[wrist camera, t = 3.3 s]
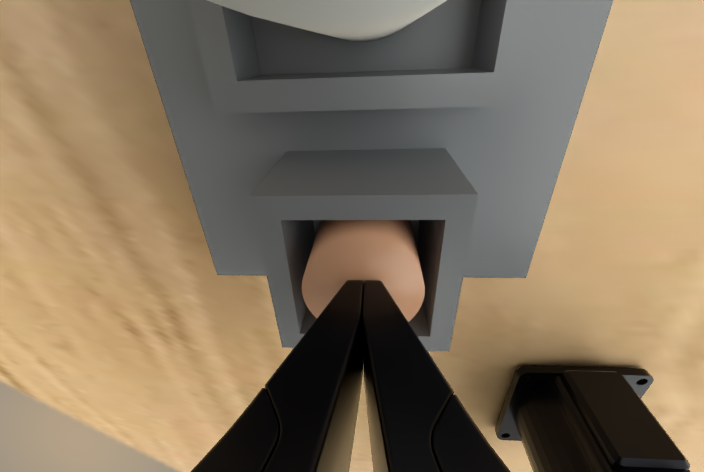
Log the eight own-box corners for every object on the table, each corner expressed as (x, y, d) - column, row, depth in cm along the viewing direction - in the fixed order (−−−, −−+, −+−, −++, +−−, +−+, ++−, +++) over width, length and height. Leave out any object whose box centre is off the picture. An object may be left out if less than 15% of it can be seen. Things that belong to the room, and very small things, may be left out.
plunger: (408, 265, 11) (420, 337, 8) (324, 265, 11) (308, 334, 9) (414, 186, 10) (430, 241, 7) (316, 187, 10) (294, 241, 7)
